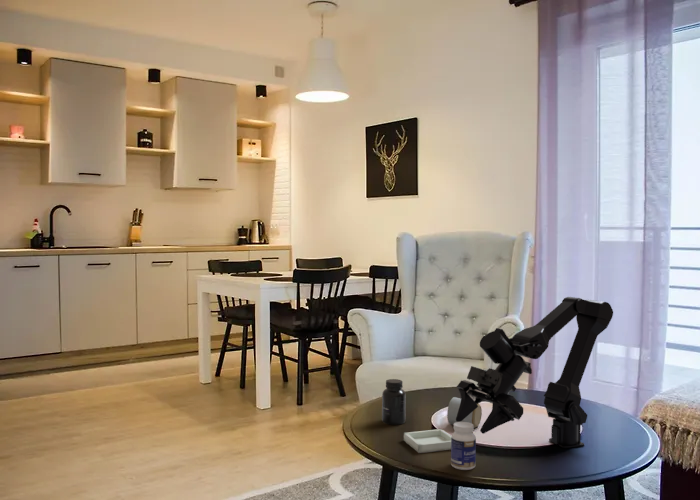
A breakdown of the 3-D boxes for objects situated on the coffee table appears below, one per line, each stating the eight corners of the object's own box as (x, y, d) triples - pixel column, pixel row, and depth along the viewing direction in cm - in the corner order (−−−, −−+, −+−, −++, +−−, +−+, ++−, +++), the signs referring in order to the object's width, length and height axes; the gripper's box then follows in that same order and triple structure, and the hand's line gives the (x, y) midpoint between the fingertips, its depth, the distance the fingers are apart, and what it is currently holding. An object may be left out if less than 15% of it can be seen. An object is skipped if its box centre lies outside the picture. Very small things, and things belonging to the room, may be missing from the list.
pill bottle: (467, 472, 143) (468, 429, 143) (446, 466, 147) (446, 424, 147) (480, 465, 148) (480, 423, 147) (459, 459, 151) (459, 419, 151)
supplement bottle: (378, 423, 180) (378, 382, 180) (386, 417, 186) (386, 377, 186) (401, 426, 177) (401, 384, 177) (408, 419, 184) (408, 379, 183)
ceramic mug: (474, 431, 173) (474, 404, 173) (446, 427, 177) (446, 400, 177) (486, 422, 182) (486, 396, 182) (459, 418, 186) (459, 392, 186)
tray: (441, 436, 169) (441, 428, 169) (458, 448, 159) (458, 440, 159) (403, 440, 165) (403, 432, 165) (418, 453, 156) (419, 445, 156)
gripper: (463, 348, 158) (426, 396, 153) (514, 361, 142) (475, 416, 137) (487, 376, 162) (452, 424, 157) (540, 392, 145) (502, 446, 141)
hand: (468, 426), depth 148 cm, fingers open, 9 cm apart
